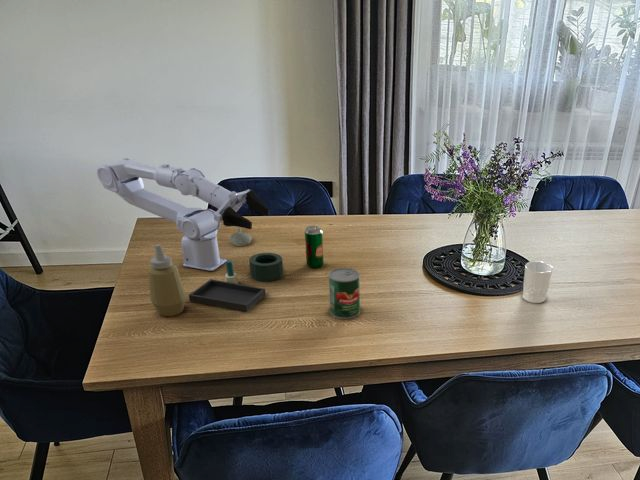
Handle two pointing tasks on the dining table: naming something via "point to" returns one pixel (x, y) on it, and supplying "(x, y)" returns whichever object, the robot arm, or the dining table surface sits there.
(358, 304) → the canned tomato
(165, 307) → the squeeze bottle
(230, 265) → the teal peg on base
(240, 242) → the soupspoon
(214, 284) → the tray
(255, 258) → the jar
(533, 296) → the white cup
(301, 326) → the dining table surface
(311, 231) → the soda can
